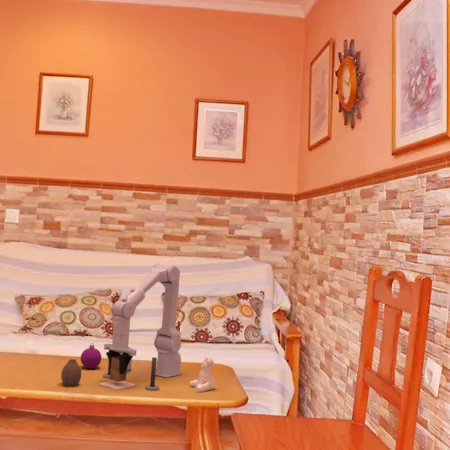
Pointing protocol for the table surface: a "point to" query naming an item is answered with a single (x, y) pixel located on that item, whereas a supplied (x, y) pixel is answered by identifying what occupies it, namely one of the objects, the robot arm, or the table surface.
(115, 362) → the walnut block
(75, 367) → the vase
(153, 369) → the post
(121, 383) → the white pad
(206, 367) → the seated beast figurine
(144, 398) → the table surface
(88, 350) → the christmas ornament
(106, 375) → the post
